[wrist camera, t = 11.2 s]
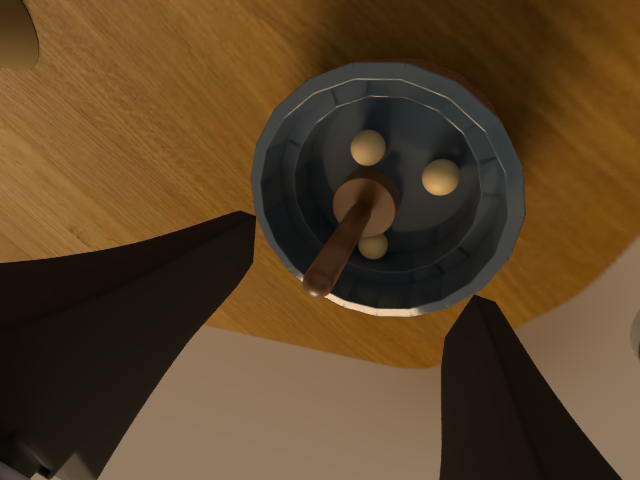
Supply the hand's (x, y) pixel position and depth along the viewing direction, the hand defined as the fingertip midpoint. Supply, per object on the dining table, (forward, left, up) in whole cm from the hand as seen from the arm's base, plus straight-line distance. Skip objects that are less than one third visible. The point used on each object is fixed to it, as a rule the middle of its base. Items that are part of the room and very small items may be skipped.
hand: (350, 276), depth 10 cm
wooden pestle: (-1, +2, -9) cm, 9 cm away
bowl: (0, +1, -10) cm, 10 cm away
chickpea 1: (+2, +1, -8) cm, 9 cm away
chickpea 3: (0, -2, -8) cm, 9 cm away
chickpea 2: (-4, +2, -8) cm, 9 cm away
